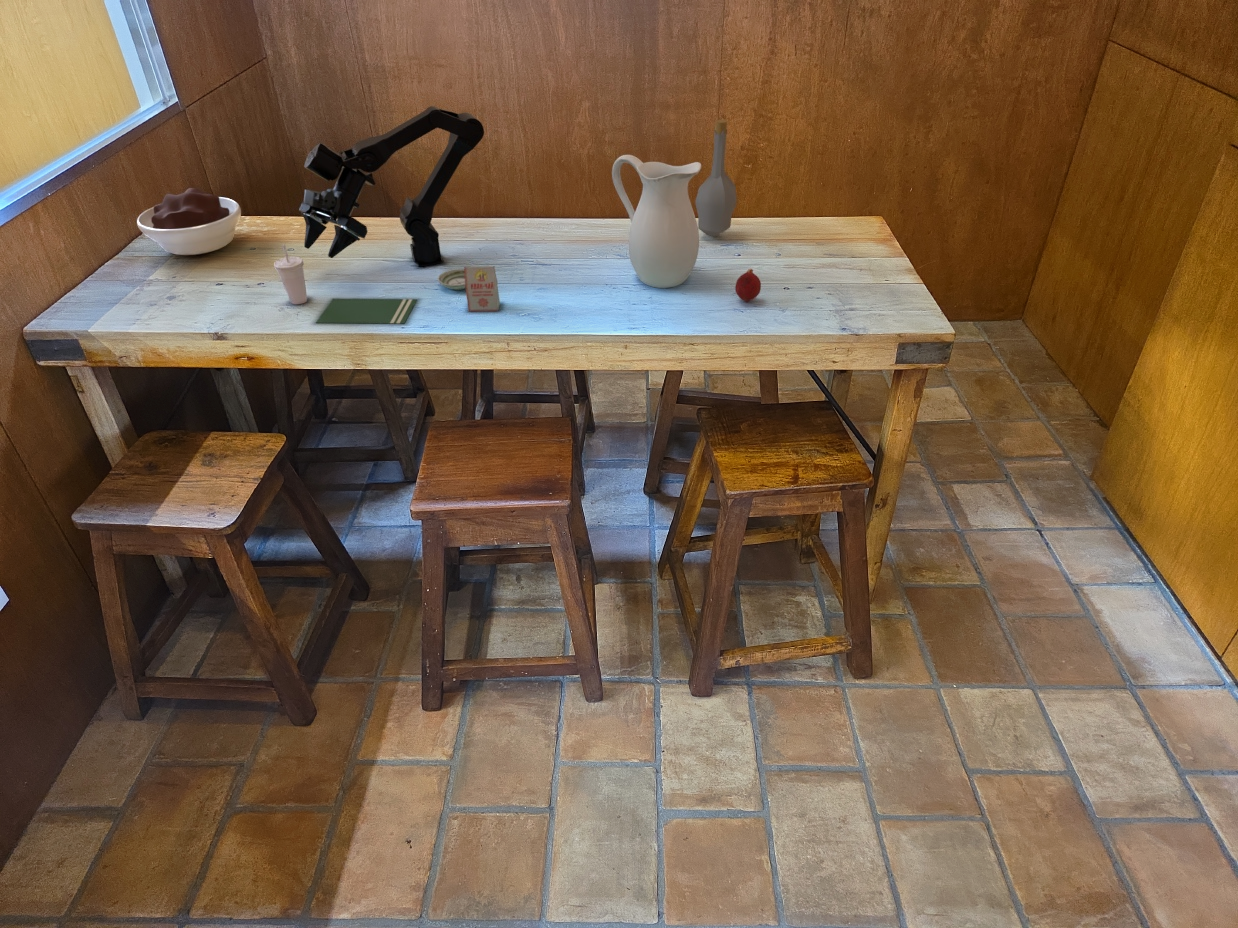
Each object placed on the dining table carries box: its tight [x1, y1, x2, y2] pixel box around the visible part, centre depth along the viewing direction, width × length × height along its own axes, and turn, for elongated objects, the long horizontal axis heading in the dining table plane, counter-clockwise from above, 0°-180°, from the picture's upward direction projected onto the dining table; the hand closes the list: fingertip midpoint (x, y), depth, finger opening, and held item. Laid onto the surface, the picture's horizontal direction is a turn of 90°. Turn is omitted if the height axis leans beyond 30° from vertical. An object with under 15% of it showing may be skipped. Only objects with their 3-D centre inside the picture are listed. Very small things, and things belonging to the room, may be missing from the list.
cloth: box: [315, 298, 418, 325], centre depth 180 cm, size 20×12×1 cm, turn 88°
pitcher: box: [611, 154, 702, 289], centre depth 186 cm, size 24×17×28 cm
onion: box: [734, 268, 762, 303], centre depth 180 cm, size 6×6×8 cm
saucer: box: [437, 268, 466, 291], centre depth 190 cm, size 10×10×2 cm
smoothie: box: [273, 243, 308, 305], centre depth 181 cm, size 6×6×14 cm
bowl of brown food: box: [136, 187, 242, 256], centre depth 206 cm, size 25×25×15 cm
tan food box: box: [463, 265, 501, 313], centre depth 178 cm, size 4×7×10 cm, turn 91°
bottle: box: [694, 119, 738, 238], centre depth 204 cm, size 11×11×30 cm
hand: (317, 252), depth 184 cm, fingers open, 9 cm apart
